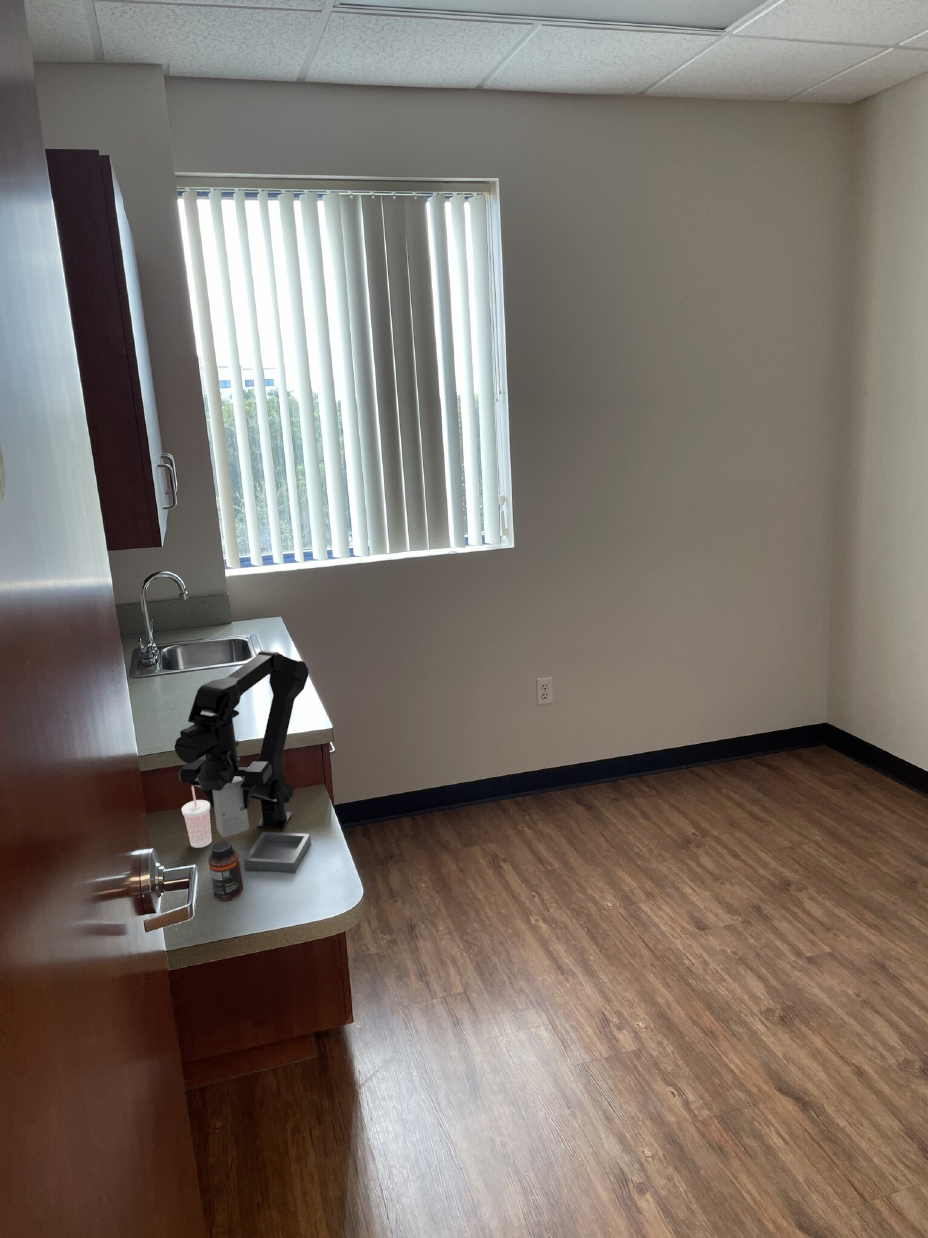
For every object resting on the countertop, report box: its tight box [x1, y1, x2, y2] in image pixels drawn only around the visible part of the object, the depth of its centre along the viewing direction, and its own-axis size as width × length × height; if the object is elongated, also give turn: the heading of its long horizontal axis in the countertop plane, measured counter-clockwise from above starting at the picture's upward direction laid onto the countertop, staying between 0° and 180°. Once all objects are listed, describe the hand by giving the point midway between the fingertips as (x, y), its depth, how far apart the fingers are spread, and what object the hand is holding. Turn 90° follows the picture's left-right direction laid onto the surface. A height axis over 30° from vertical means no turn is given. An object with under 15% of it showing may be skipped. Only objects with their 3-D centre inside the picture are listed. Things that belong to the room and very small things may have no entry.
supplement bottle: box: [208, 839, 244, 902], centre depth 171 cm, size 6×6×11 cm
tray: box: [243, 831, 312, 874], centre depth 184 cm, size 11×11×2 cm
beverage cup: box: [181, 785, 213, 849], centre depth 189 cm, size 6×6×14 cm
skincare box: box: [212, 776, 250, 839], centre depth 183 cm, size 6×4×12 cm
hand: (230, 807), depth 184 cm, fingers closed on skincare box, 7 cm apart
